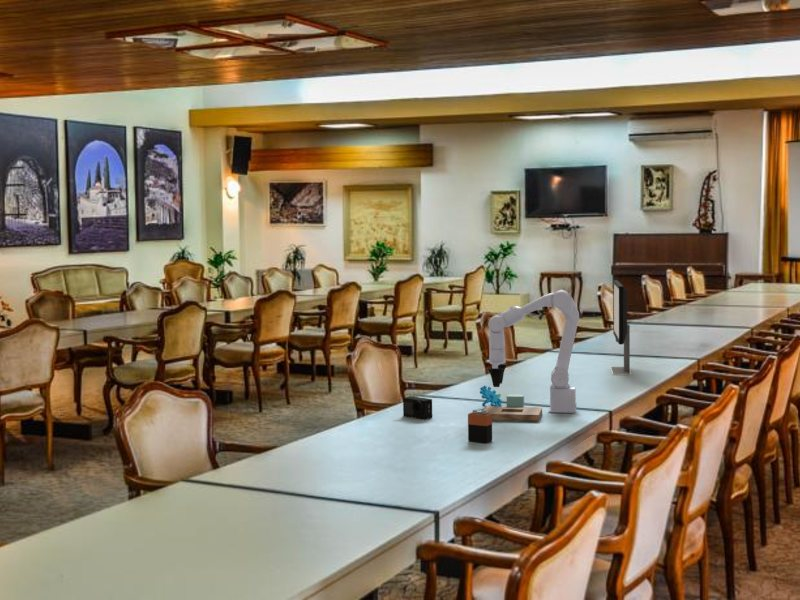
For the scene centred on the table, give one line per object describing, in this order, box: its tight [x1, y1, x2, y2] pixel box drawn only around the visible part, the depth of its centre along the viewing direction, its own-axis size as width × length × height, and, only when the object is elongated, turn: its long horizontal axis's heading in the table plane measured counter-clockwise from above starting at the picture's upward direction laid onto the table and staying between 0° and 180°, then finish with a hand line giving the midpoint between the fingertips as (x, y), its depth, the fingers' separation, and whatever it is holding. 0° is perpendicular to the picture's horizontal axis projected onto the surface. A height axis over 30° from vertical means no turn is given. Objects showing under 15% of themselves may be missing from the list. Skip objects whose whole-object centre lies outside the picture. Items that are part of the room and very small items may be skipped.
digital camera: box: [402, 395, 433, 421], centre depth 378 cm, size 10×5×7 cm, turn 47°
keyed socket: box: [484, 405, 543, 423], centre depth 375 cm, size 20×14×2 cm
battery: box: [467, 409, 493, 444], centre depth 337 cm, size 4×7×10 cm, turn 58°
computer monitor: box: [609, 279, 632, 376], centre depth 474 cm, size 41×8×40 cm, turn 172°
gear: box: [479, 385, 503, 407], centre depth 398 cm, size 11×6×10 cm
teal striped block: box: [506, 394, 525, 407], centre depth 385 cm, size 6×4×6 cm, turn 78°
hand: (497, 385), depth 388 cm, fingers open, 7 cm apart
